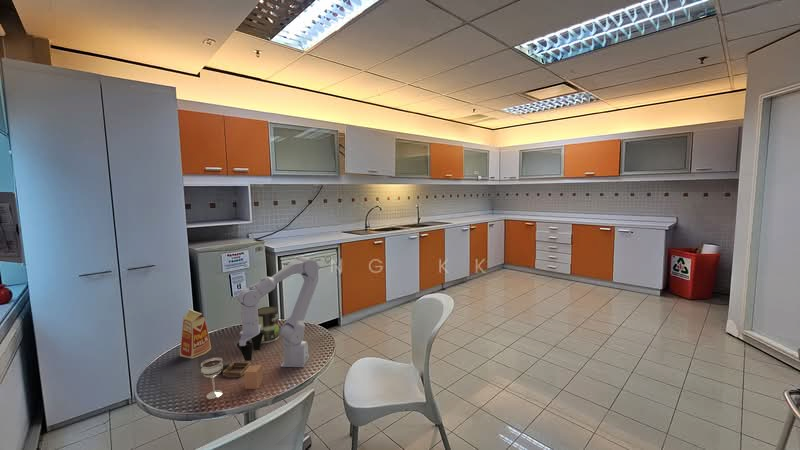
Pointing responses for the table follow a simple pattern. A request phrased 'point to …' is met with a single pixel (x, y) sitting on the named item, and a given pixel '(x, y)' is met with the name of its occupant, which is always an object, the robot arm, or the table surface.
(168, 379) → the table surface
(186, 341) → the milk carton
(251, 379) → the block
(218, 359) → the wineglass
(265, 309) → the coffee can
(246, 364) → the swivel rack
